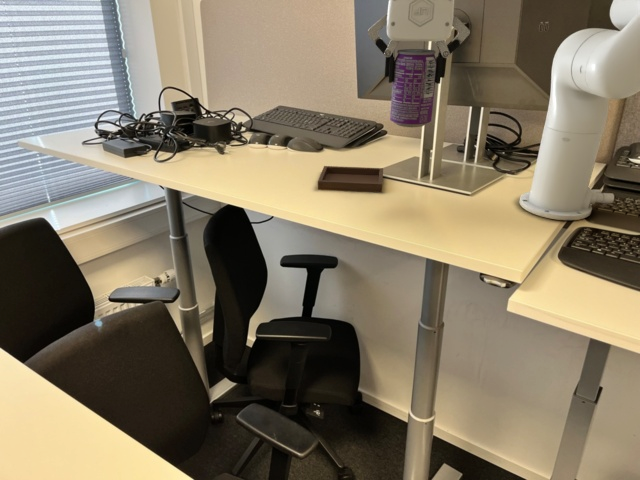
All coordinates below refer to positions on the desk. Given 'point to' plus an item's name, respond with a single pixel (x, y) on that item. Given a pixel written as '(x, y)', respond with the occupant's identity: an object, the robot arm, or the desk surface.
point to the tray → (351, 179)
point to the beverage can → (413, 87)
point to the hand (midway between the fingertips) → (413, 81)
